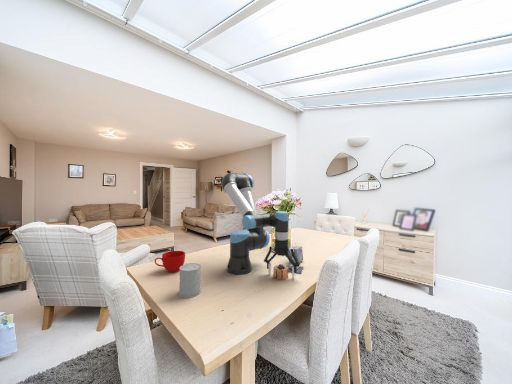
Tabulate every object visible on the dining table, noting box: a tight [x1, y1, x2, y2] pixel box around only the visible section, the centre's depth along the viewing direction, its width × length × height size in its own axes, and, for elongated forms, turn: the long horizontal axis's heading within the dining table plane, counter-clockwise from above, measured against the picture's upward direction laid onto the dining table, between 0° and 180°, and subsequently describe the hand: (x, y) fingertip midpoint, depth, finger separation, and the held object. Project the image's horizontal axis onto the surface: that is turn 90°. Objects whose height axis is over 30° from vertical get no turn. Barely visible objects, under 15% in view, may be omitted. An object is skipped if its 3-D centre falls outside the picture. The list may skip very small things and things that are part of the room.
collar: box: [273, 264, 289, 280], centre depth 120 cm, size 8×8×5 cm
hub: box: [286, 258, 305, 275], centre depth 130 cm, size 10×10×7 cm
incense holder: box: [288, 245, 304, 264], centre depth 144 cm, size 10×8×10 cm
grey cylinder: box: [179, 262, 202, 299], centre depth 100 cm, size 10×10×12 cm
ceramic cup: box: [154, 250, 186, 273], centre depth 126 cm, size 13×17×10 cm
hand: (281, 276), depth 119 cm, fingers open, 13 cm apart
